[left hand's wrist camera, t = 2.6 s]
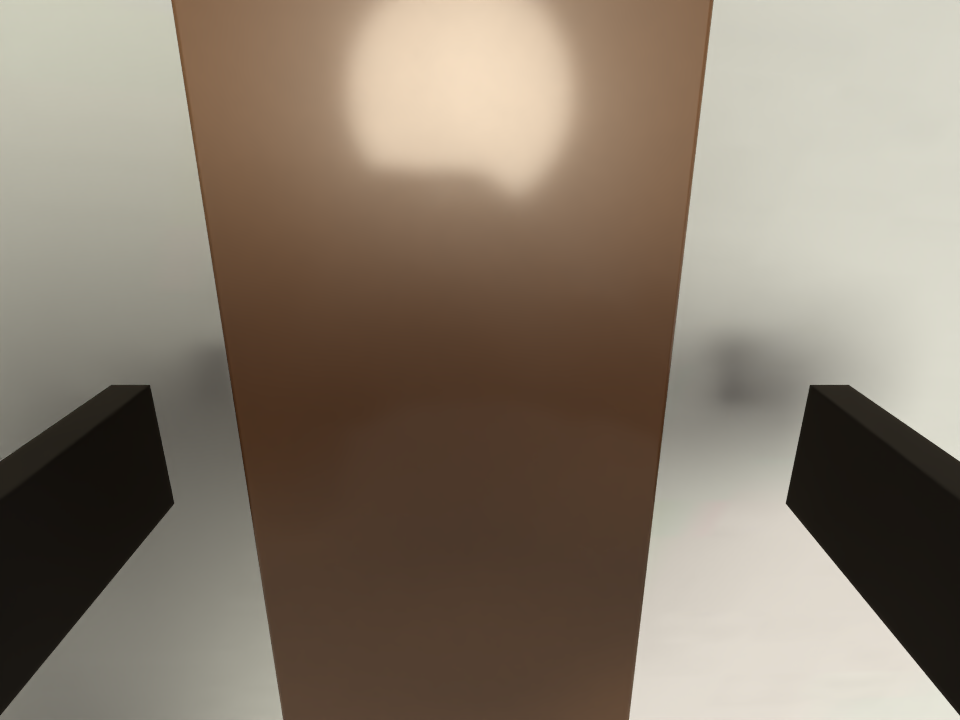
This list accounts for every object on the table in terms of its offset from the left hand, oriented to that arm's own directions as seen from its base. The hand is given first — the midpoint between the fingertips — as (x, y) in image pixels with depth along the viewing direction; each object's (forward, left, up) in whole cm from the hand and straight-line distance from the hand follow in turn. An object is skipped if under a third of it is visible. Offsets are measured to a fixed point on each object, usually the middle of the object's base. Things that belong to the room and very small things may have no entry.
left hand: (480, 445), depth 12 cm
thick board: (+10, +18, -4) cm, 21 cm away
